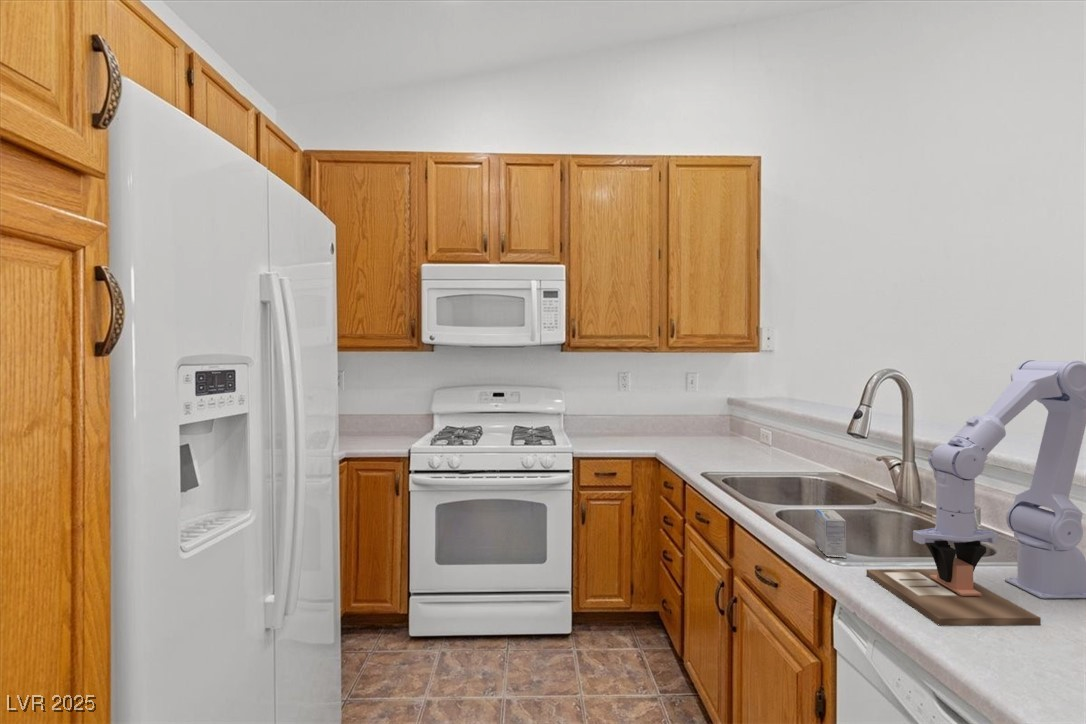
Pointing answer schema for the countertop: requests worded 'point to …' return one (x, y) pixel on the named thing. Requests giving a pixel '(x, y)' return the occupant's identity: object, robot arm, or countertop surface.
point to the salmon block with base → (960, 579)
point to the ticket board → (950, 600)
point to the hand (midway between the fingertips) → (954, 580)
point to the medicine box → (830, 532)
